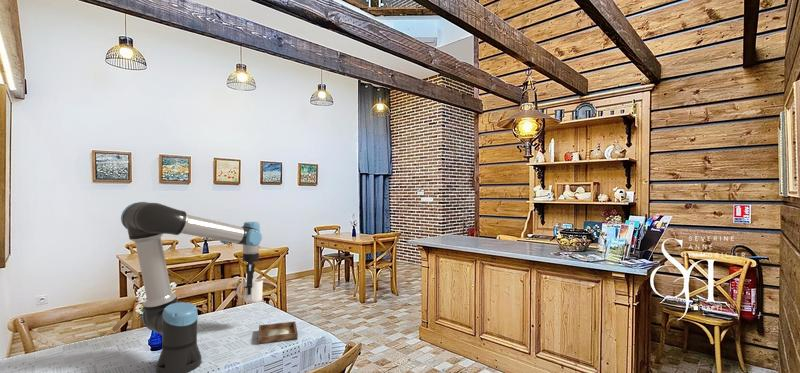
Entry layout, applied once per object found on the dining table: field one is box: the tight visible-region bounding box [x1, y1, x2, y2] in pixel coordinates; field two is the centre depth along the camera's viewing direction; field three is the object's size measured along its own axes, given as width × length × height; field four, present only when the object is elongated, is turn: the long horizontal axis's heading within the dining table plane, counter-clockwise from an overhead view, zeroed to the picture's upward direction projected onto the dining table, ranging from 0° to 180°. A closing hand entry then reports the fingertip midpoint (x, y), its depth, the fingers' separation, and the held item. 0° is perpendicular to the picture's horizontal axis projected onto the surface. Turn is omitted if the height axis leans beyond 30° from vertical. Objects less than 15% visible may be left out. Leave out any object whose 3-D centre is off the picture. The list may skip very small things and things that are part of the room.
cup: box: [236, 278, 264, 304], centre depth 184 cm, size 8×12×10 cm
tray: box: [257, 321, 299, 345], centre depth 175 cm, size 17×16×3 cm
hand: (249, 298), depth 183 cm, fingers closed on cup, 8 cm apart
